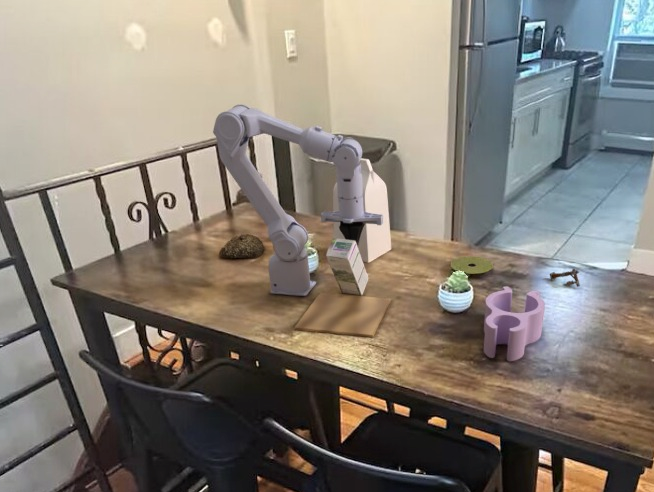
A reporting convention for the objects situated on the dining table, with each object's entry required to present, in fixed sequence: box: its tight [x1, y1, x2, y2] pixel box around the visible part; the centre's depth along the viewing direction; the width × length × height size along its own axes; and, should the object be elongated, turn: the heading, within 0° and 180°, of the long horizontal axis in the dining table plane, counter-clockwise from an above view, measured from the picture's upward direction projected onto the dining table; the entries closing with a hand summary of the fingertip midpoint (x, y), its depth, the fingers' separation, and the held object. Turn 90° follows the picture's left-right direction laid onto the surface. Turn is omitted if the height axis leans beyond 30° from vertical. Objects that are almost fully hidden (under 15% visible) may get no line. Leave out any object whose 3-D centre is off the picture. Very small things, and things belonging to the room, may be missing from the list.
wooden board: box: [293, 292, 392, 338], centre depth 139 cm, size 18×18×1 cm
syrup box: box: [325, 237, 369, 296], centre depth 143 cm, size 6×6×14 cm
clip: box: [483, 285, 546, 362], centre depth 127 cm, size 20×12×7 cm, turn 160°
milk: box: [332, 157, 392, 264], centre depth 164 cm, size 12×12×26 cm
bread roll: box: [218, 233, 265, 259], centre depth 171 cm, size 13×12×5 cm
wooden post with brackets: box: [549, 268, 581, 287], centre depth 151 cm, size 2×8×4 cm, turn 44°
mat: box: [450, 256, 494, 275], centre depth 158 cm, size 11×11×2 cm
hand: (354, 251), depth 144 cm, fingers closed
